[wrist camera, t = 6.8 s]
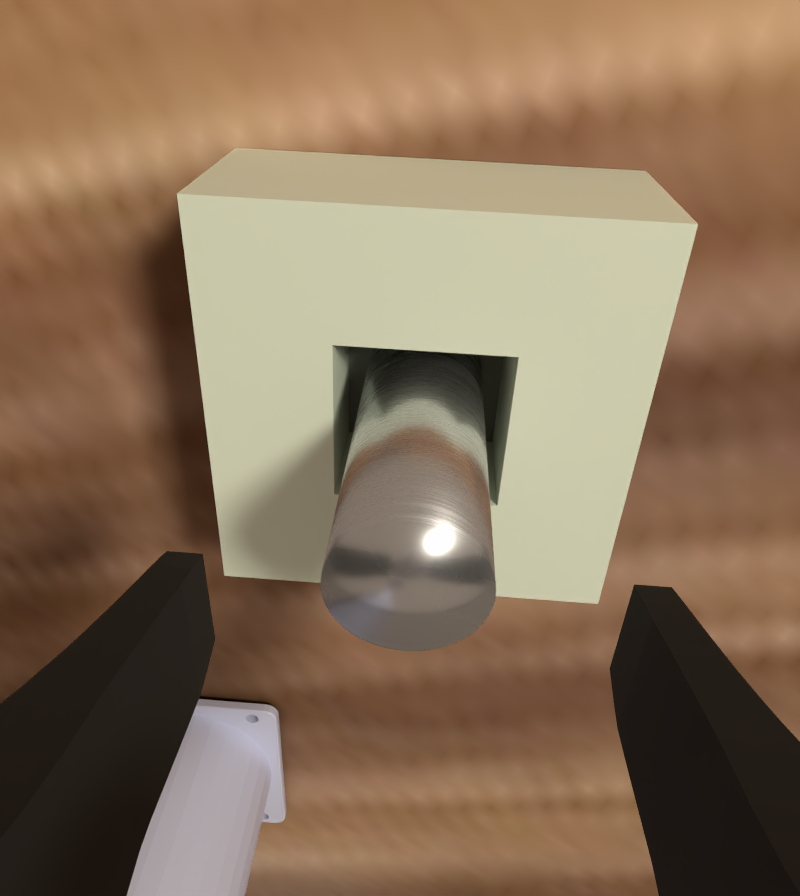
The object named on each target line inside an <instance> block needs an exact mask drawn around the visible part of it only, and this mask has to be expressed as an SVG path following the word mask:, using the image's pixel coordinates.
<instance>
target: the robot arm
mask: <svg viewBox="0 0 800 896" xmlns="http://www.w3.org/2000/svg"><path fill="white" fill-rule="evenodd" d="M214 641H215V635H214V628H213V621H212V615H211V608H210V601H209V594H208V587H207V581H206V574H205V567H204V560H203V554H197V553H183V552H169V551H167V552H166V553H164V554H163V555H162V556H161V557H160V558H159V559H158V560H157V561H156V562H155V563H154V564H153V565H152V566H151V567H150V568H149V569H148V570H147V571H146V572H145V573H144V574H143V575H142V576H141V577H140V578H139V579H138V580H137V581H136V582H135V583H134V584H133V585H132V586H131V587H130V588H129V589H128V590H127V591H126V592H125V593H124V594H123V595H122V596H121V597H120V598H119V599H118V600H117V601H116V602H115V603H114V604H113V605H112V606H111V607H110V608H109V609H108V610H107V611H106V612H105V613H103V614H102V615H101V616H100V617H99V618H98V619H97V620H96V621H95V622H94V623H93V624H92V625H91V626H90V627H89V628H88V629H87V630H85V631H84V632H83V633H82V634H81V635H80V636H79V637H78V638H77V639H76V640H75V641H74V642H73V643H72V644H70V645H69V646H68V647H67V648H66V649H65V650H64V651H63V652H62V653H60V654H59V655H58V656H57V657H56V658H55V659H53V660H52V661H51V662H50V663H49V664H48V665H46V666H45V667H44V668H43V669H42V670H41V671H40V672H38V673H37V674H36V675H35V676H34V677H33V678H31V679H30V680H29V681H28V682H27V683H26V684H24V685H23V686H22V687H21V688H20V689H18V690H17V691H16V692H15V693H13V694H12V695H11V696H10V697H8V698H7V699H6V700H5V701H3V702H2V703H1V704H0V896H245V893H246V889H247V884H248V880H249V875H250V871H251V867H252V862H253V858H254V854H255V849H256V845H257V841H258V836H259V832H260V827H261V823H262V822H272V823H279V822H282V821H283V820H284V819H285V815H286V800H285V788H284V775H283V763H282V751H281V738H280V726H279V713H278V711H277V709H275V708H274V707H273V706H271V705H267V704H257V703H244V702H232V701H220V700H207V699H199V697H200V694H201V691H202V687H203V683H204V680H205V676H206V672H207V669H208V665H209V661H210V657H211V653H212V649H213V645H214ZM610 674H611V682H612V690H613V699H614V706H615V713H616V720H617V727H618V732H619V736H620V740H621V744H622V748H623V752H624V756H625V760H626V764H627V768H628V772H629V776H630V780H631V784H632V787H633V791H634V795H635V799H636V803H637V807H638V811H639V815H640V818H641V822H642V826H643V830H644V834H645V838H646V842H647V846H648V849H649V853H650V857H651V861H652V865H653V870H654V874H655V879H656V884H657V888H658V893H659V896H800V742H799V741H798V739H797V738H796V737H795V736H794V735H793V734H792V733H791V732H790V731H789V730H788V729H787V728H786V726H785V725H784V724H783V723H782V722H781V721H780V720H779V719H778V718H777V716H776V715H775V714H774V713H773V712H772V711H771V710H770V708H769V707H768V706H767V705H766V704H765V703H764V702H763V700H762V699H761V698H760V697H759V696H758V694H757V693H756V692H755V691H754V690H753V688H752V687H751V686H750V685H749V684H748V683H747V681H746V680H745V679H744V678H743V677H742V675H741V674H740V673H739V672H738V671H737V669H736V668H735V667H734V666H733V665H732V663H731V662H730V661H729V660H728V658H727V657H726V656H725V655H724V653H723V652H722V651H721V650H720V648H719V647H718V646H717V644H716V643H715V642H714V641H713V639H712V638H711V637H710V636H709V634H708V633H707V632H706V630H705V629H704V628H703V627H702V625H701V624H700V623H699V621H698V620H697V619H696V618H695V616H694V615H693V614H692V612H691V611H690V610H689V609H688V607H687V606H686V605H685V603H684V602H683V601H682V600H681V598H680V597H679V596H678V594H677V593H676V592H675V591H674V590H673V588H672V587H659V586H645V585H634V587H633V591H632V594H631V598H630V601H629V605H628V608H627V611H626V615H625V618H624V622H623V625H622V629H621V632H620V635H619V639H618V642H617V646H616V649H615V653H614V656H613V660H612V663H611V666H610Z"/></svg>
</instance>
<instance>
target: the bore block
mask: <svg viewBox="0 0 800 896" xmlns="http://www.w3.org/2000/svg"><path fill="white" fill-rule="evenodd" d="M177 199H178V207H179V215H180V223H181V231H182V239H183V247H184V255H185V263H186V271H187V279H188V287H189V295H190V303H191V311H192V319H193V327H194V335H195V343H196V351H197V359H198V367H199V376H200V384H201V392H202V400H203V408H204V416H205V424H206V432H207V440H208V448H209V456H210V464H211V472H212V480H213V488H214V496H215V504H216V512H217V520H218V528H219V536H220V544H221V552H222V560H223V569H224V576H235V577H248V578H261V579H275V580H288V581H301V582H315V583H321V573H322V568H323V564H324V559H325V555H326V550H327V546H328V542H329V537H330V533H331V528H332V524H333V519H334V515H335V510H336V506H337V502H338V497H339V493H340V488H341V484H342V479H343V475H344V470H345V466H346V462H347V457H348V453H349V448H350V444H351V439H352V435H353V430H354V426H355V421H356V417H357V413H358V408H359V404H360V399H361V395H362V390H363V386H364V381H365V377H366V373H367V368H368V364H369V360H370V357H371V355H372V353H373V351H374V349H375V348H384V349H399V350H415V351H430V352H446V353H461V354H477V356H478V359H479V362H480V366H481V375H482V390H483V405H484V419H485V434H486V449H487V463H488V478H489V493H490V507H491V522H492V536H493V551H494V566H495V580H496V596H501V597H515V598H528V599H541V600H555V601H568V602H581V603H595V604H598V602H599V598H600V594H601V591H602V587H603V583H604V579H605V575H606V572H607V568H608V564H609V560H610V556H611V553H612V549H613V545H614V541H615V538H616V534H617V530H618V526H619V522H620V519H621V515H622V511H623V507H624V503H625V500H626V496H627V492H628V488H629V484H630V481H631V477H632V473H633V469H634V465H635V462H636V458H637V454H638V450H639V447H640V443H641V439H642V435H643V431H644V428H645V424H646V420H647V416H648V412H649V409H650V405H651V401H652V397H653V393H654V390H655V386H656V382H657V378H658V374H659V371H660V367H661V363H662V359H663V356H664V352H665V348H666V344H667V340H668V337H669V333H670V329H671V325H672V321H673V318H674V314H675V310H676V306H677V302H678V299H679V295H680V291H681V287H682V283H683V280H684V276H685V272H686V268H687V265H688V261H689V257H690V253H691V249H692V246H693V242H694V238H695V234H696V230H697V227H698V224H697V223H696V221H695V220H694V219H693V218H692V217H691V216H690V215H689V214H688V213H687V212H686V211H685V210H684V209H683V208H682V207H681V206H680V205H679V204H678V203H677V202H676V201H675V200H674V199H673V198H672V197H671V196H670V195H669V194H668V193H667V192H666V191H665V190H664V189H663V188H662V187H661V186H660V185H659V184H658V183H657V182H656V181H655V180H654V179H653V178H652V177H651V176H650V175H649V174H648V173H647V172H646V171H637V170H619V169H601V168H584V167H566V166H548V165H530V164H512V163H495V162H477V161H459V160H441V159H423V158H406V157H388V156H370V155H352V154H335V153H317V152H299V151H281V150H263V149H246V148H235V149H234V150H232V151H231V152H230V153H229V154H227V155H226V156H225V157H223V158H222V159H221V160H220V161H218V162H217V163H216V164H214V165H213V166H212V167H211V168H209V169H208V170H207V171H205V172H204V173H203V174H202V175H200V176H199V177H198V178H197V179H195V180H194V181H193V182H191V183H190V184H189V185H188V186H186V187H185V188H184V189H182V190H181V191H180V192H179V193H177Z"/></svg>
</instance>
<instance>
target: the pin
mask: <svg viewBox="0 0 800 896" xmlns="http://www.w3.org/2000/svg"><path fill="white" fill-rule="evenodd" d="M321 592H322V596H323V599H324V602H325V604H326V606H327V608H328V610H329V611H330V613H331V614H332V616H333V617H334V618H335V619H336V620H337V621H338V622H339V623H340V624H341V625H342V626H343V627H344V628H345V629H347V630H348V631H349V632H350V633H352V634H354V635H355V636H357V637H359V638H361V639H363V640H365V641H367V642H369V643H372V644H375V645H378V646H381V647H385V648H389V649H395V650H404V651H423V650H431V649H436V648H441V647H444V646H447V645H451V644H453V643H455V642H458V641H460V640H462V639H464V638H465V637H467V636H469V635H470V634H471V633H473V632H474V631H475V630H477V629H478V628H479V627H480V626H481V625H482V624H483V622H484V621H485V620H486V618H487V617H488V616H489V614H490V612H491V610H492V608H493V605H494V602H495V596H496V580H495V566H494V551H493V536H492V522H491V507H490V493H489V478H488V463H487V449H486V434H485V419H484V405H483V390H482V375H481V366H480V362H479V359H478V356H477V354H461V353H446V352H430V351H415V350H399V349H384V348H375V349H374V351H373V353H372V355H371V357H370V360H369V364H368V368H367V373H366V377H365V381H364V386H363V390H362V395H361V399H360V404H359V408H358V413H357V417H356V421H355V426H354V430H353V435H352V439H351V444H350V448H349V453H348V457H347V462H346V466H345V470H344V475H343V479H342V484H341V488H340V493H339V497H338V502H337V506H336V510H335V515H334V519H333V524H332V528H331V533H330V537H329V542H328V546H327V550H326V555H325V559H324V564H323V568H322V573H321Z"/></svg>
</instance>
